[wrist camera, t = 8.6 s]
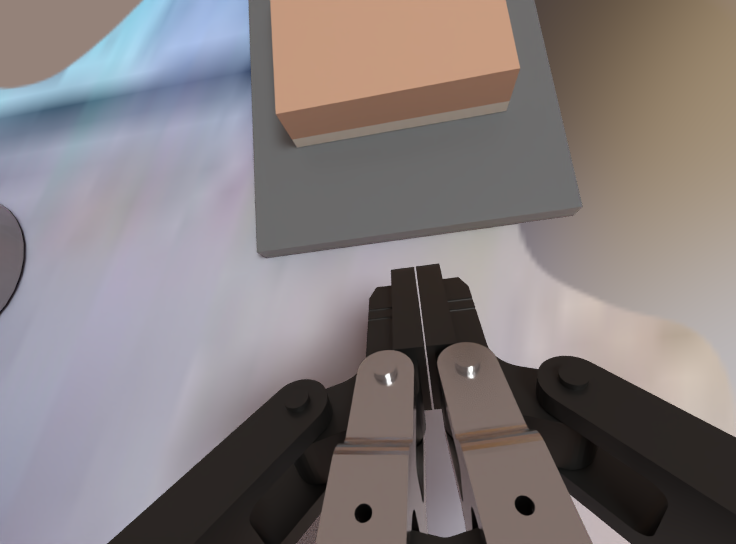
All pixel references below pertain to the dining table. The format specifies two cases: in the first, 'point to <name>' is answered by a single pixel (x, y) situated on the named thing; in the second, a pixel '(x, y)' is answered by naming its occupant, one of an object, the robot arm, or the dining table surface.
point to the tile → (388, 64)
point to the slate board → (411, 163)
